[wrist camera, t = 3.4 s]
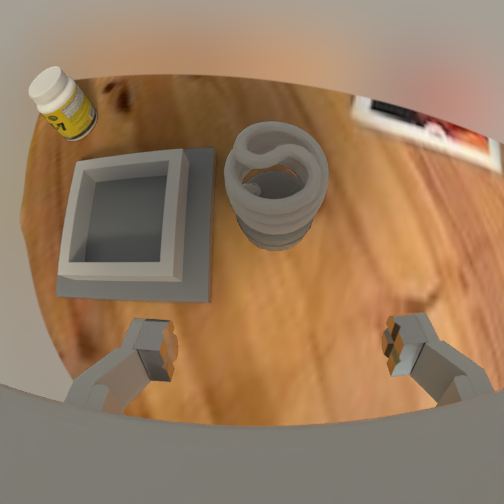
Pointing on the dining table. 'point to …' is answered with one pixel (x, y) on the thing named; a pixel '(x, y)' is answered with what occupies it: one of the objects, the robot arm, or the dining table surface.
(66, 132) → the supplement bottle
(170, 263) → the bulb socket
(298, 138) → the light bulb
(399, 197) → the dining table surface
